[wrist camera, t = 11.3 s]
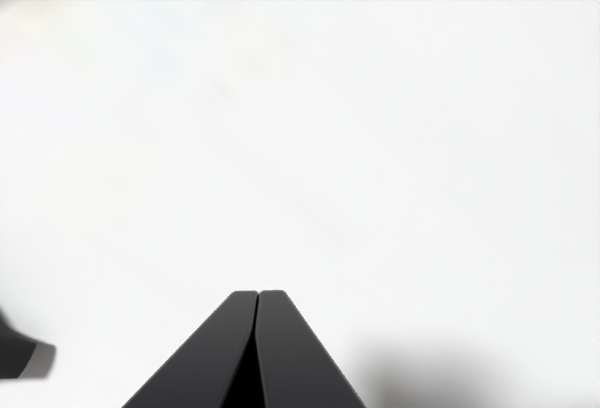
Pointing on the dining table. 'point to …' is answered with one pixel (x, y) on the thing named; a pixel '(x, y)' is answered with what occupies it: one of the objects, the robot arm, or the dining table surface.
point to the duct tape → (14, 355)
